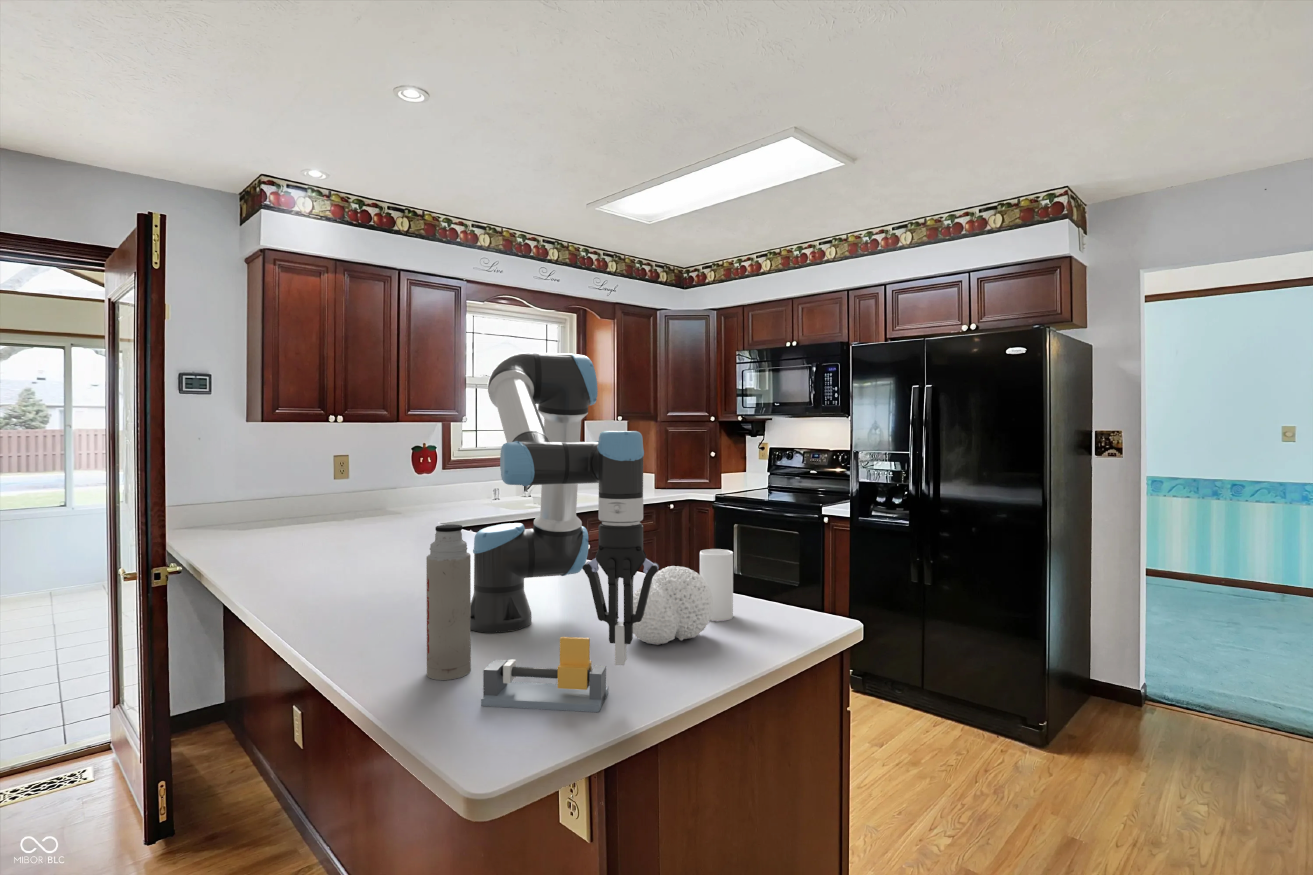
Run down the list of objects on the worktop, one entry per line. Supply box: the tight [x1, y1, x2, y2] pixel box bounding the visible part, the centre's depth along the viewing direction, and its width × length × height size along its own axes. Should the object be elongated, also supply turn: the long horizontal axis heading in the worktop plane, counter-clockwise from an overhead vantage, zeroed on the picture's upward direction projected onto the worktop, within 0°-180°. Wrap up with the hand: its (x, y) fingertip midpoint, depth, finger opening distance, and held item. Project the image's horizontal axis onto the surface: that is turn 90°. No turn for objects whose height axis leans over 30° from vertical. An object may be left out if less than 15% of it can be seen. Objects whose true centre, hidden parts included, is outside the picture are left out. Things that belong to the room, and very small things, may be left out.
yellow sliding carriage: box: [557, 636, 593, 690], centre depth 113 cm, size 5×4×8 cm
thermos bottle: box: [425, 524, 472, 681], centre depth 127 cm, size 8×8×28 cm
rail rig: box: [480, 659, 609, 713], centre depth 114 cm, size 20×8×6 cm, turn 83°
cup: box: [699, 548, 734, 622], centre depth 165 cm, size 8×8×16 cm
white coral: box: [633, 565, 713, 646], centre depth 147 cm, size 20×18×16 cm
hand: (620, 662), depth 112 cm, fingers closed
